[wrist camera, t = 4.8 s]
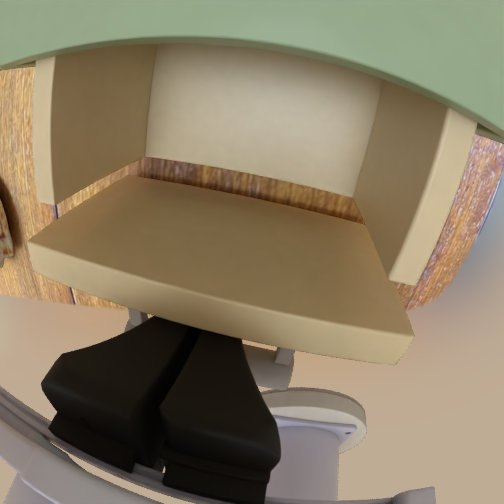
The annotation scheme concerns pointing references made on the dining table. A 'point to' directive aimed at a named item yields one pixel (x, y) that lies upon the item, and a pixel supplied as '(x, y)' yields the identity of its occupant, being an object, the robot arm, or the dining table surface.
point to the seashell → (4, 238)
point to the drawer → (241, 207)
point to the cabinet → (294, 38)
